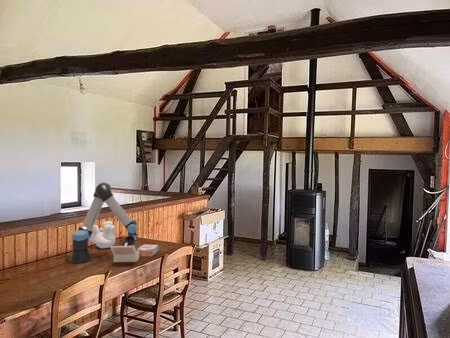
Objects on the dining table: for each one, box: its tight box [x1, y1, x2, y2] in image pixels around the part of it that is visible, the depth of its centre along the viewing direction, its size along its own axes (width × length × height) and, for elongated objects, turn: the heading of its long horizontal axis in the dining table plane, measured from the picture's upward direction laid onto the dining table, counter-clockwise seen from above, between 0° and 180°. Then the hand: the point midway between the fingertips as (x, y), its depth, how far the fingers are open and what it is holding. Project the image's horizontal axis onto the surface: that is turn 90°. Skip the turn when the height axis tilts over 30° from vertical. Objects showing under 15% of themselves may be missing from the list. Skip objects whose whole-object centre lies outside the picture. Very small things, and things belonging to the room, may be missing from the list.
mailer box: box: [113, 250, 140, 263], centre depth 282 cm, size 14×18×6 cm
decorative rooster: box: [88, 220, 117, 249], centre depth 323 cm, size 25×16×25 cm, turn 81°
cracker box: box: [135, 243, 160, 258], centre depth 301 cm, size 14×6×21 cm
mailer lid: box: [109, 245, 137, 256], centre depth 270 cm, size 14×18×1 cm
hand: (125, 246), depth 268 cm, fingers closed
